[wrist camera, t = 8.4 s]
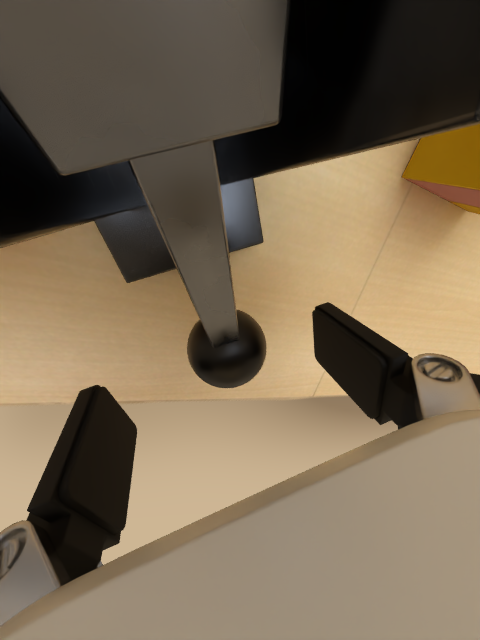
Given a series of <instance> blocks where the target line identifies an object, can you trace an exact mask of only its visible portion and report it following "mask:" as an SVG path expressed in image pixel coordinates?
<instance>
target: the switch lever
mask: <svg viewBox="0 0 480 640" xmlns="http://www.w3.org/2000/svg"><path fill="white" fill-rule="evenodd" d="M292 1H293V0H0V100H1V101H2V103H3V104H4V105H5V107H6V108H7V109H8V111H9V112H10V113H11V115H12V116H13V117H14V119H15V120H16V121H17V123H18V124H19V125H20V127H21V128H22V129H23V130H24V132H25V133H26V134H27V136H28V137H29V138H30V140H31V141H32V142H33V144H34V145H35V146H36V148H37V149H38V150H39V152H40V153H41V154H42V156H43V157H44V158H45V160H46V161H47V162H48V164H49V165H50V166H51V168H52V169H53V170H54V171H55V172H57V173H58V174H59V175H65V176H66V175H70V174H74V173H78V172H82V171H87V170H91V169H95V168H99V167H103V166H107V165H112V164H116V163H120V162H124V161H128V163H129V165H130V167H131V169H132V172H133V174H134V176H135V178H136V180H137V183H138V185H139V187H140V189H141V191H142V193H143V196H144V198H145V200H146V202H147V204H148V207H149V209H150V211H151V213H152V215H153V218H154V220H155V222H156V224H157V226H158V229H159V231H160V233H161V235H162V237H163V239H164V242H165V244H166V246H167V248H168V250H169V253H170V255H171V257H172V259H173V261H174V264H175V266H176V268H177V270H178V272H179V274H180V277H181V279H182V281H183V283H184V285H185V288H186V290H187V292H188V294H189V296H190V299H191V301H192V303H193V305H194V307H195V309H196V312H197V314H198V316H199V318H200V320H199V321H198V322H197V323H196V324H195V325H194V327H193V329H192V330H191V333H190V335H189V338H188V344H187V354H188V359H189V362H190V365H191V367H192V369H193V370H194V372H195V373H196V374H197V375H198V376H199V377H200V378H201V379H202V380H203V381H205V382H206V383H208V384H210V385H212V386H215V387H219V388H234V387H238V386H241V385H243V384H245V383H247V382H248V381H250V380H251V379H252V378H254V376H255V375H256V374H257V373H258V372H259V370H260V369H261V367H262V365H263V363H264V360H265V356H266V340H265V336H264V333H263V331H262V329H261V327H260V326H259V324H258V323H257V322H256V321H255V320H254V319H253V318H252V317H251V316H250V315H248V314H246V313H245V312H242V311H240V310H236V305H235V297H234V290H233V282H232V274H231V266H230V258H229V251H228V243H227V235H226V227H225V219H224V211H223V204H222V196H221V188H220V180H219V172H218V165H217V157H216V149H215V141H214V140H216V139H220V138H224V137H228V136H232V135H237V134H241V133H245V132H249V131H253V130H257V129H262V128H266V127H270V126H274V125H277V124H278V123H279V122H280V120H281V117H282V107H283V96H284V86H285V75H286V64H287V54H288V43H289V33H290V22H291V11H292Z"/></svg>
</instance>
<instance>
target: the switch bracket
mask: <svg viewBox="0 0 480 640" xmlns="http://www.w3.org/2000/svg"><path fill="white" fill-rule="evenodd" d="M477 124H480V0H293V1H292V11H291V22H290V33H289V43H288V54H287V64H286V75H285V86H284V96H283V107H282V117H281V120H280V122H279V123H278V124H277V125H274V126H270V127H266V128H262V129H257V130H253V131H249V132H245V133H241V134H237V135H232V136H228V137H224V138H220V139H216V140H214V141H215V149H216V157H217V165H218V172H219V180H220V188H221V196H222V204H223V211H224V219H225V227H226V235H227V243H228V251H229V253H230V252H233V251H237V250H240V249H243V248H247V247H250V246H253V245H257V244H260V243H263V236H262V229H261V223H260V217H259V211H258V205H257V199H256V192H255V186H254V180H253V178H256V177H260V176H264V175H268V174H273V173H277V172H281V171H285V170H289V169H293V168H298V167H302V166H306V165H310V164H314V163H319V162H323V161H327V160H331V159H335V158H339V157H344V156H348V155H352V154H356V153H360V152H364V151H369V150H373V149H377V148H381V147H385V146H390V145H394V144H398V143H402V142H406V141H410V140H415V139H419V138H423V137H427V136H431V135H435V134H440V133H444V132H448V131H452V130H456V129H461V128H465V127H469V126H473V125H477ZM91 221H94V222H95V223H96V225H97V227H98V229H99V231H100V233H101V235H102V237H103V239H104V241H105V242H106V244H107V246H108V248H109V250H110V252H111V254H112V256H113V258H114V260H115V261H116V263H117V265H118V267H119V269H120V271H121V273H122V275H123V277H124V279H125V281H126V282H127V283H130V282H134V281H137V280H140V279H144V278H147V277H150V276H154V275H157V274H160V273H164V272H167V271H170V270H174V269H177V268H176V266H175V264H174V261H173V259H172V257H171V255H170V253H169V250H168V248H167V246H166V244H165V242H164V239H163V237H162V235H161V233H160V231H159V229H158V226H157V224H156V222H155V220H154V218H153V215H152V213H151V211H150V209H149V207H148V204H147V202H146V200H145V198H144V196H143V193H142V191H141V189H140V187H139V185H138V183H137V180H136V178H135V176H134V174H133V172H132V169H131V167H130V165H129V163H128V161H124V162H120V163H116V164H112V165H107V166H103V167H99V168H95V169H91V170H87V171H82V172H78V173H74V174H70V175H66V176H65V175H59V174H58V173H57V172H55V171H54V170H53V169H52V168H51V166H50V165H49V164H48V162H47V161H46V160H45V158H44V157H43V156H42V154H41V153H40V152H39V150H38V149H37V148H36V146H35V145H34V144H33V142H32V141H31V140H30V138H29V137H28V136H27V134H26V133H25V132H24V130H23V129H22V128H21V127H20V125H19V124H18V123H17V121H16V120H15V119H14V117H13V116H12V115H11V113H10V112H9V111H8V109H7V108H6V107H5V105H4V104H3V103H2V101H1V100H0V248H3V247H6V246H9V245H13V244H16V243H20V242H23V241H26V240H30V239H33V238H37V237H40V236H43V235H47V234H50V233H54V232H57V231H60V230H64V229H67V228H71V227H74V226H77V225H81V224H84V223H88V222H91Z"/></svg>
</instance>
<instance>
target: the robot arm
mask: <svg viewBox="0 0 480 640" xmlns="http://www.w3.org/2000/svg"><path fill="white" fill-rule="evenodd" d="M312 316H313V334H314V352H315V358H316V360H317V361H318V363H319V364H320V365H321V366H322V367H323V368H324V369H325V370H326V371H327V372H328V373H329V375H330V376H331V377H332V378H333V379H334V380H335V381H336V382H337V383H338V384H339V385H340V387H341V388H342V389H343V390H344V391H345V392H346V393H347V394H348V395H349V396H350V397H351V398H352V400H353V401H354V402H355V403H356V404H357V405H358V406H359V407H360V408H361V409H362V410H363V412H364V413H365V414H366V415H367V416H368V417H370V418H372V419H373V418H374V419H375V420H376V421H377V422H378V423H379V424H380V425H382V424H384V423H386V422H388V421H391V420H392V421H393V422H394V423H395V424H396V425H398V430H397V431H394V432H392V433H390V434H387V435H385V436H383V437H380V438H378V439H375V440H373V441H371V442H369V443H367V444H364V445H362V446H360V447H358V448H355V449H353V450H351V451H349V452H346V453H344V454H342V455H340V456H338V457H335V458H333V459H331V460H329V461H327V462H324V463H322V464H320V465H318V466H316V467H313V468H312V469H309V470H307V471H305V472H302V473H300V474H298V475H296V476H294V477H291V478H289V479H287V480H285V481H283V482H281V483H278V484H276V485H274V486H272V487H270V488H267V489H265V490H263V491H261V492H259V493H257V494H254V495H253V496H250V497H248V498H246V499H244V500H241V501H239V502H237V503H235V504H233V505H231V506H229V507H226V508H224V509H222V510H220V511H218V512H215V513H213V514H211V515H209V516H207V517H204V518H202V519H200V520H198V521H196V522H194V523H192V524H190V525H187V526H185V527H183V528H181V529H179V530H177V531H174V532H172V533H170V534H168V535H166V536H164V537H162V538H160V539H157V540H155V541H153V542H151V543H149V544H146V545H144V546H142V547H140V548H138V549H136V550H134V551H132V552H129V553H127V554H126V555H123V556H121V557H119V558H117V559H115V560H113V561H111V562H109V563H107V564H105V565H103V564H102V562H101V556H102V551H103V550H105V549H107V548H109V547H112V546H114V545H116V544H118V543H119V540H120V534H121V531H122V530H123V529H124V527H125V524H126V517H127V509H128V501H129V493H130V485H131V477H132V469H133V461H134V453H135V445H136V437H137V428H136V425H135V424H134V423H133V421H132V420H131V419H130V418H129V416H128V415H127V414H126V413H125V411H124V410H123V409H122V408H121V406H120V405H119V404H118V402H117V401H116V400H115V399H114V397H113V396H112V395H111V394H110V392H109V391H108V390H107V389H106V388H105V387H100V386H99V385H95V386H92V387H89V388H86V389H84V390H81V391H80V392H79V394H78V397H77V399H76V401H75V403H74V406H73V408H72V410H71V412H70V415H69V417H68V419H67V421H66V424H65V426H64V428H63V430H62V433H61V435H60V437H59V440H58V441H57V444H56V446H55V448H54V451H53V453H52V455H51V457H50V459H49V462H48V464H47V466H46V468H45V471H44V473H43V475H42V478H41V480H40V482H39V484H38V487H37V489H36V491H35V493H34V495H33V498H32V500H31V502H30V504H29V507H28V509H27V511H28V512H30V513H29V516H28V518H27V520H26V521H23V520H22V521H19V522H16V523H14V524H12V525H10V526H9V527H7V528H5V529H4V530H3V531H2V532H0V640H480V375H477V374H471V373H469V371H468V370H467V369H466V367H465V366H464V365H462V364H461V363H460V362H458V361H456V360H454V359H452V358H450V357H447V356H444V355H440V354H434V353H426V354H421V355H418V356H416V357H414V359H413V358H411V357H410V356H408V353H406V352H405V351H403V350H402V349H400V348H399V347H397V346H396V345H394V344H393V343H391V342H389V341H388V340H386V339H385V338H383V337H382V336H380V335H379V334H377V333H376V332H374V331H373V330H371V329H369V328H368V327H366V326H365V325H363V324H362V323H360V322H359V321H357V320H356V319H354V318H353V317H351V316H349V315H348V314H346V313H345V312H343V311H342V310H340V309H339V308H337V307H336V306H334V305H332V304H331V303H329V302H327V303H324V304H321V305H319V306H316V307H315V310H314V311H313V312H312Z"/></svg>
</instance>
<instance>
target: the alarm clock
mask: <svg viewBox="0 0 480 640" xmlns="http://www.w3.org/2000/svg"><path fill="white" fill-rule="evenodd" d="M402 177H403V178H406V179H407V180H409V181H411V182H413V183H415V184H416V185H418V186H420V187H422V188H424V189H426V190H428V191H430V192H432V193H434V194H436V195H438V196H440V197H441V198H443V199H445V200H448V201H449V202H451V203H453V204H455V205H457V206H459V207H461V208H463V209H465V210H467V211H469V212H473V213H477V214H480V124H477V125H473V126H469V127H465V128H461V129H456V130H452V131H448V132H444V133H440V134H435V135H431V136H427V137H423V138H421V139H420V141H419V143H418V145H417V147H416V149H415V151H414V153H413V155H412V157H411V159H410V161H409V163H408V165H407V167H406V169H405V171H404V174H403V176H402Z"/></svg>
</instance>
